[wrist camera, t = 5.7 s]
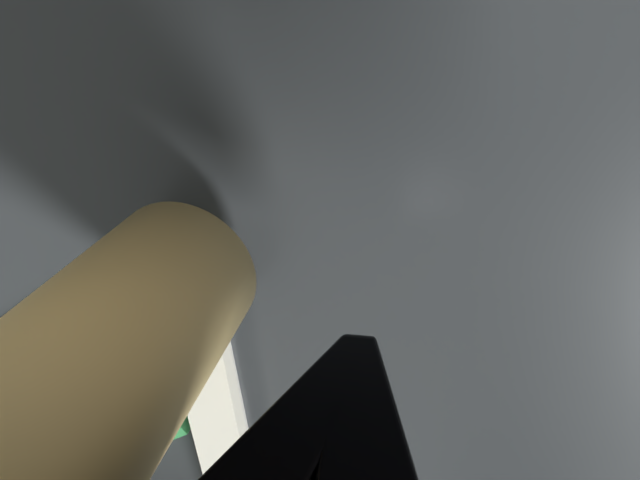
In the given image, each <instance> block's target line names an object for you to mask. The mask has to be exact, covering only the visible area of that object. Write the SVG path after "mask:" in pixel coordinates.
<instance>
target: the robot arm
mask: <svg viewBox="0 0 640 480" xmlns="http://www.w3.org/2000/svg"><path fill="white" fill-rule="evenodd" d="M198 480H419V479H418V475H417V472H416V469H415V465H414V462H413V459H412V455H411V452H410V449H409V445H408V442H407V439H406V435H405V432H404V429H403V425H402V422H401V419H400V415H399V412H398V409H397V405H396V402H395V399H394V395H393V392H392V389H391V385H390V382H389V379H388V375H387V372H386V369H385V365H384V362H383V359H382V356H381V352H380V349H379V346H378V342H377V340H376V338H375V337H374V336H366V335H354V334H344V335H342V336H341V337H340V338H339V339H338V340H337V341H336V342H335V343H334V344H333V345H332V346H331V347H330V348H329V349H328V350H327V351H326V352H325V353H324V354H323V355H322V356H321V357H320V358H319V359H318V360H317V361H316V362H315V363H314V364H313V365H312V366H311V367H310V368H309V369H308V370H307V371H306V372H305V373H304V374H303V375H302V376H301V377H300V378H299V379H298V380H297V381H296V382H295V383H294V384H293V385H292V386H291V387H290V388H289V389H288V390H287V391H286V392H285V393H284V394H283V395H282V396H281V397H280V398H279V399H278V400H277V401H276V402H275V403H274V404H273V405H272V406H271V407H270V408H269V409H268V410H267V411H266V412H265V413H264V414H263V415H262V416H261V417H260V418H259V419H258V420H257V421H256V422H255V423H254V424H253V425H252V426H251V427H250V428H249V429H248V430H247V431H246V432H245V433H244V434H243V435H242V436H241V437H240V438H239V439H238V440H237V441H236V442H235V443H234V444H233V445H232V446H231V447H230V448H229V449H228V450H227V451H226V452H225V453H224V454H223V455H222V456H221V457H220V458H219V459H218V460H217V461H216V462H215V463H214V464H213V465H212V466H211V467H210V468H209V469H208V470H207V471H206V472H205V473H204V474H203V475H202V476H201V477H200V478H199V479H198Z"/></svg>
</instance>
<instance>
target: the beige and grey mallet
mask: <svg viewBox="0 0 640 480" xmlns="http://www.w3.org/2000/svg"><path fill="white" fill-rule="evenodd" d="M255 292H256V272H255V268H254V264H253V261H252V259H251V256H250V254H249V252H248V250H247V248H246V246H245V245H244V244H243V242H242V241H241V239H240V238H239V237H238V236H237V234H236V233H235V232H234V231H233V230H232V229H231V228H230V227H229V226H228V225H227V224H226V223H224V222H223V221H222V220H220V219H219V218H218V217H216V216H214V215H213V214H211V213H209V212H208V211H205V210H203V209H201V208H199V207H196V206H193V205H190V204H186V203H181V202H170V201H168V202H157V203H152V204H149V205H147V206H144V207H142V208H140V209H138V210H137V211H135V212H134V213H133V214H131V215H130V216H129V217H128V218H126V219H125V220H124V221H123V222H121V223H120V224H119V225H117V226H116V227H115V228H114V229H112V230H111V231H110V232H109V233H107V234H106V235H105V236H103V237H102V238H101V239H100V240H98V241H97V242H96V243H95V244H93V245H92V246H91V247H90V248H88V249H87V250H86V251H84V252H83V253H82V254H81V255H79V256H78V257H77V258H76V259H74V260H73V261H72V262H70V263H69V264H68V265H67V266H65V267H64V268H63V269H62V270H60V271H59V272H58V273H57V274H55V275H54V276H53V277H51V278H50V279H49V280H48V281H46V282H45V283H44V284H43V285H41V286H40V287H39V288H37V289H36V290H35V291H34V292H32V293H31V294H30V295H29V296H27V297H26V298H25V299H23V300H22V301H21V302H20V303H18V304H17V305H16V306H15V307H13V308H12V309H11V310H10V311H8V312H7V313H6V314H4V315H3V316H2V317H1V318H0V480H150V479H151V477H152V475H153V474H154V472H155V470H156V468H157V467H158V465H159V463H160V462H161V460H162V458H163V456H164V455H165V453H166V451H167V449H168V448H169V446H170V444H171V443H172V441H173V439H174V437H175V436H176V434H177V432H178V431H179V429H180V427H181V425H182V424H183V422H184V420H185V418H186V417H187V416H188V420H189V424H190V428H191V432H192V435H193V439H194V443H195V447H196V451H197V455H198V458H199V462H200V466H201V470H202V474H204V473H205V472H206V471H207V470H208V469H209V468H210V467H211V466H212V465H213V464H214V463H215V462H216V461H217V460H218V459H219V458H220V457H221V456H222V455H223V454H224V453H225V452H226V451H227V450H228V449H229V448H230V447H231V446H232V445H233V444H234V443H235V442H236V441H237V440H238V439H239V438H240V437H241V436H242V435H243V434H244V433H245V432H246V431H247V430H246V425H245V420H244V415H243V410H242V405H241V400H240V395H239V390H238V384H237V379H236V374H235V369H234V364H233V359H232V354H231V349H230V344H229V343H230V341H231V339H232V338H233V336H234V334H235V332H236V331H237V329H238V327H239V326H240V324H241V322H242V320H243V319H244V317H245V315H246V313H247V312H248V310H249V308H250V307H251V305H252V302H253V300H254V297H255Z"/></svg>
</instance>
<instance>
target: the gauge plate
mask: <svg viewBox="0 0 640 480" xmlns="http://www.w3.org/2000/svg"><path fill="white" fill-rule="evenodd" d="M168 201H170V202H181V203H186V204H190V205H193V206H196V207H199V208H201V209H203V210H205V211H208V212H209V213H211V214H213V215H214V216H216V217H218V218H219V219H220V220H222V221H223V222H224V223H226V224H227V225H228V226H229V227H230V228H231V229H232V230H233V231H234V232H235V233H236V234H237V236H238V237H239V238H240V239H241V241H242V242H243V244H244V245H245V246H246V248H247V250H248V252H249V254H250V256H251V259H252V261H253V264H254V268H255V272H256V292H255V297H254V300H253V302H252V305H251V307H250V308H249V310H248V312H247V313H246V315H245V317H244V319H243V320H242V322H241V324H240V326H239V327H238V329H237V331H236V332H235V334H234V336H233V338H232V339H231V341H230V343H229V344H230V349H231V354H232V359H233V364H234V369H235V374H236V379H237V384H238V390H239V395H240V400H241V405H242V410H243V415H244V420H245V425H246V430H248V429H249V428H250V427H251V426H252V425H253V424H254V423H255V422H256V421H257V420H258V419H259V418H260V417H261V416H262V415H263V414H264V413H265V412H266V411H267V410H268V409H269V408H270V407H271V406H272V405H273V404H274V403H275V402H276V401H277V400H278V399H279V398H280V397H281V396H282V395H283V394H284V393H285V392H286V391H287V390H288V389H289V388H290V387H291V386H292V385H293V384H294V383H295V382H296V381H297V380H298V379H299V378H300V377H301V376H302V375H303V374H304V373H305V372H306V371H307V370H308V369H309V368H310V367H311V366H312V365H313V364H314V363H315V362H316V361H317V360H318V359H319V358H320V357H321V356H322V355H323V354H324V353H325V352H326V351H327V350H328V349H329V348H330V347H331V346H332V345H333V344H334V343H335V342H336V341H337V340H338V339H339V338H340V337H341V336H342V335H344V334H354V335H366V336H374V337H375V338H376V340H377V342H378V346H379V349H380V352H381V356H382V359H383V362H384V365H385V369H386V372H387V375H388V379H389V382H390V385H391V389H392V392H393V395H394V399H395V402H396V405H397V409H398V412H399V415H400V419H401V422H402V425H403V429H404V432H405V435H406V439H407V442H408V445H409V449H410V452H411V455H412V459H413V462H414V465H415V469H416V472H417V475H418V479H419V480H640V0H0V318H1V317H2V316H3V315H4V314H6V313H7V312H8V311H10V310H11V309H12V308H13V307H15V306H16V305H17V304H18V303H20V302H21V301H22V300H23V299H25V298H26V297H27V296H29V295H30V294H31V293H32V292H34V291H35V290H36V289H37V288H39V287H40V286H41V285H43V284H44V283H45V282H46V281H48V280H49V279H50V278H51V277H53V276H54V275H55V274H57V273H58V272H59V271H60V270H62V269H63V268H64V267H65V266H67V265H68V264H69V263H70V262H72V261H73V260H74V259H76V258H77V257H78V256H79V255H81V254H82V253H83V252H84V251H86V250H87V249H88V248H90V247H91V246H92V245H93V244H95V243H96V242H97V241H98V240H100V239H101V238H102V237H103V236H105V235H106V234H107V233H109V232H110V231H111V230H112V229H114V228H115V227H116V226H117V225H119V224H120V223H121V222H123V221H124V220H125V219H126V218H128V217H129V216H130V215H131V214H133V213H134V212H135V211H137V210H138V209H140V208H142V207H144V206H147V205H149V204H152V203H157V202H168ZM202 475H203V474H202V470H201V466H200V462H199V458H198V455H197V451H196V447H195V443H194V439H193V435H192V432H191V428H190V424H189V420H188V416H187V417H186V418H185V420H184V422H183V424H182V425H181V427H180V429H179V431H178V432H177V434H176V436H175V437H174V439H173V441H172V443H171V444H170V446H169V448H168V449H167V451H166V453H165V455H164V456H163V458H162V460H161V462H160V463H159V465H158V467H157V468H156V470H155V472H154V474H153V475H152V477H151V479H150V480H198V479H199V478H200V477H201V476H202Z"/></svg>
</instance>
